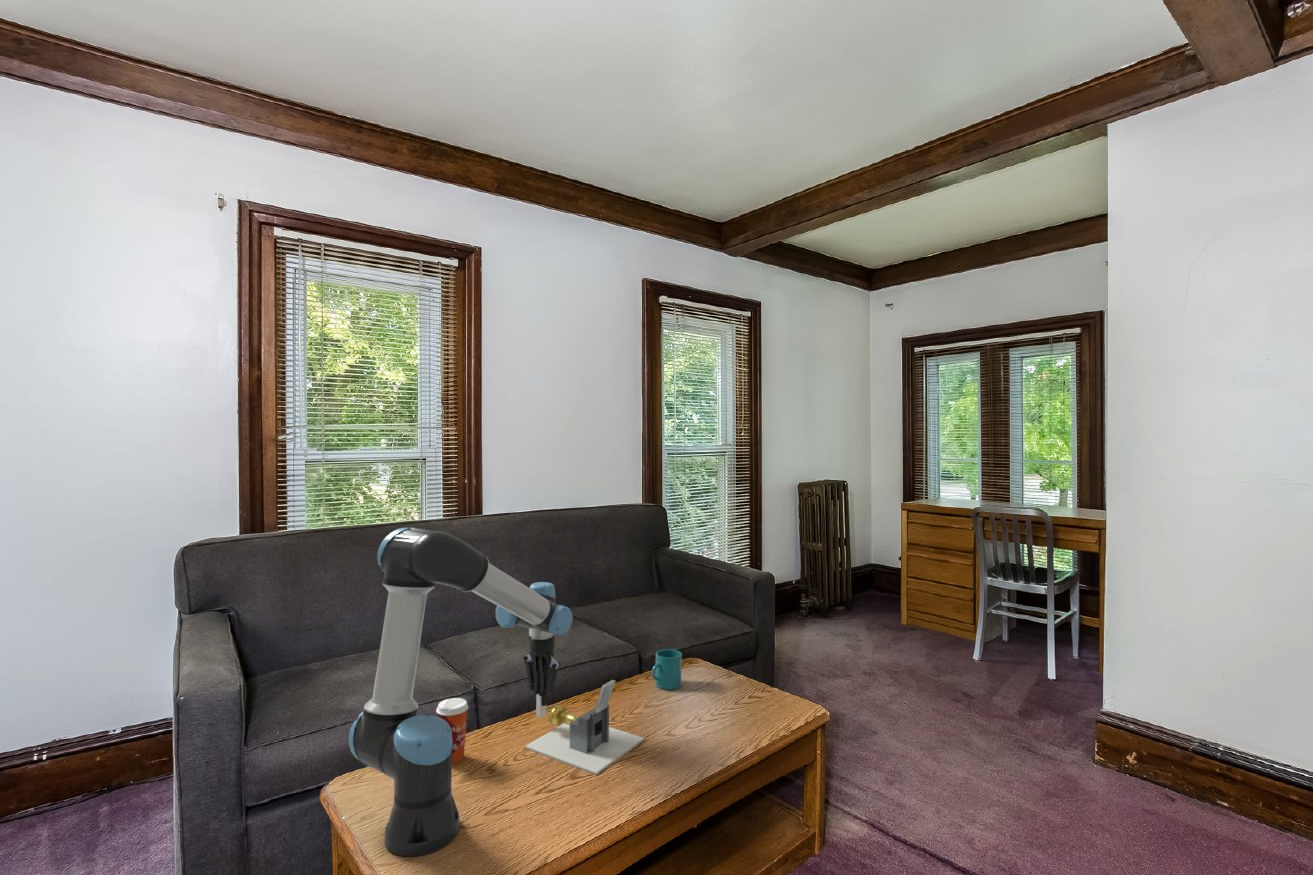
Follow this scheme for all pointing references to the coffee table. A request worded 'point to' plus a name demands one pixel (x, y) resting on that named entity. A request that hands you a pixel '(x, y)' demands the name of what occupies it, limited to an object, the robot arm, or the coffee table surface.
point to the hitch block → (590, 731)
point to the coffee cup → (455, 724)
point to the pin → (561, 716)
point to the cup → (668, 669)
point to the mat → (603, 755)
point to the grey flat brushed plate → (604, 696)
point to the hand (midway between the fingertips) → (541, 715)
